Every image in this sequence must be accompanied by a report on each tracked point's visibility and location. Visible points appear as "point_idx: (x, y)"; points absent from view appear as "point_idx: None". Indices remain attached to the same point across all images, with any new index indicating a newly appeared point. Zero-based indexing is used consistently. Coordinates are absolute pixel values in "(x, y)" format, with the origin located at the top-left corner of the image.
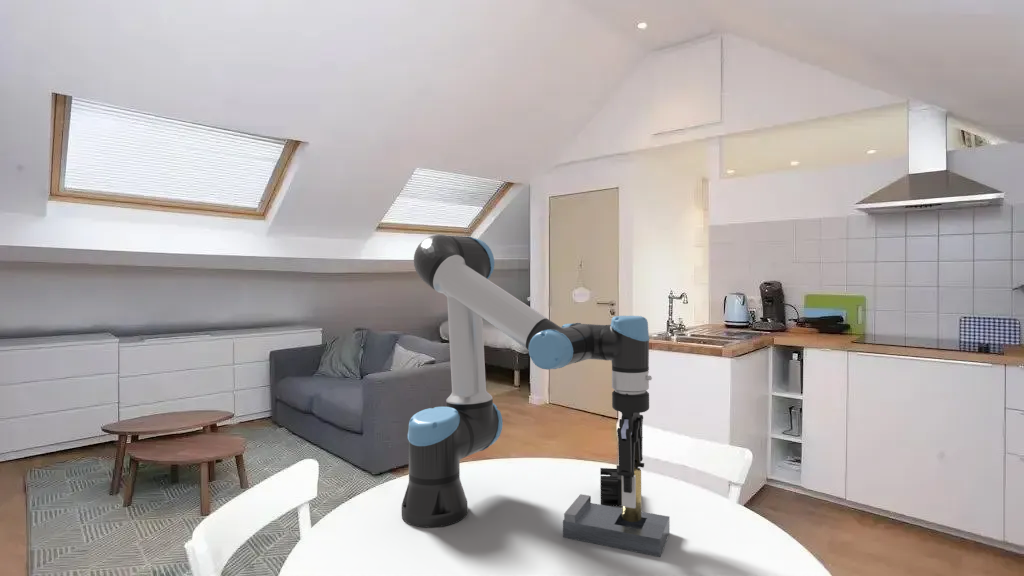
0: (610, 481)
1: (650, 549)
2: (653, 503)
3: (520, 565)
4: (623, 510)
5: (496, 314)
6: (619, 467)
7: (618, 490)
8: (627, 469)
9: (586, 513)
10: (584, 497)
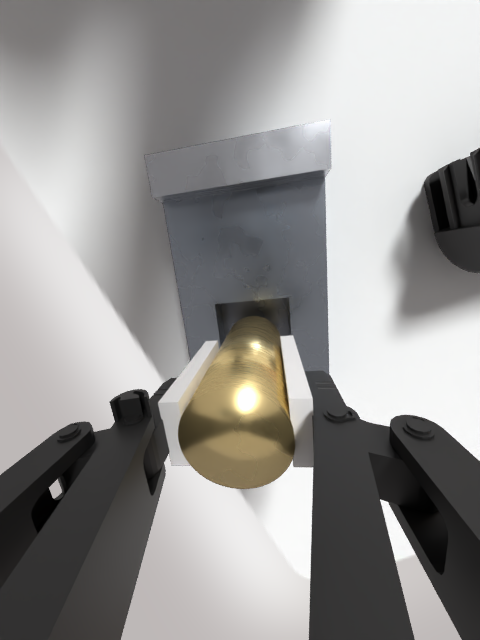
0: None
1: None
2: None
3: (18, 158)
4: (228, 333)
5: None
6: (12, 471)
7: (470, 229)
8: (39, 508)
9: (239, 203)
10: (304, 153)
